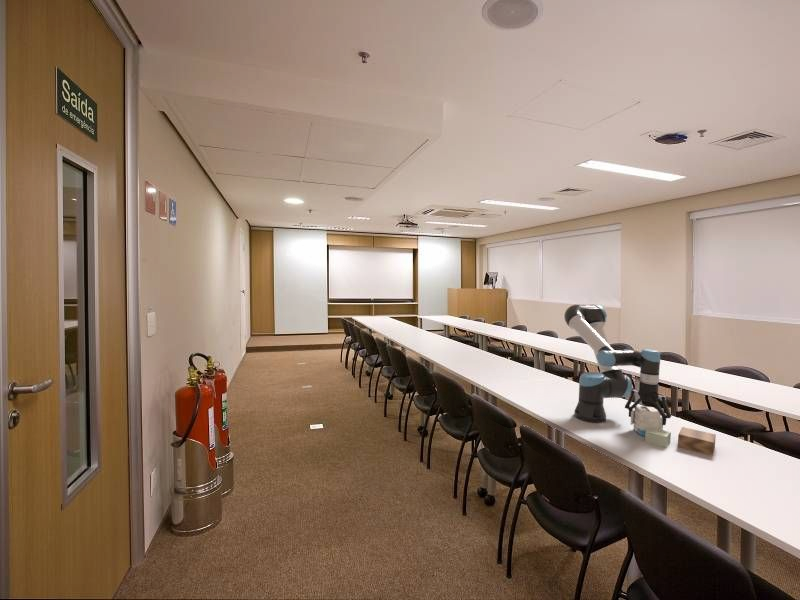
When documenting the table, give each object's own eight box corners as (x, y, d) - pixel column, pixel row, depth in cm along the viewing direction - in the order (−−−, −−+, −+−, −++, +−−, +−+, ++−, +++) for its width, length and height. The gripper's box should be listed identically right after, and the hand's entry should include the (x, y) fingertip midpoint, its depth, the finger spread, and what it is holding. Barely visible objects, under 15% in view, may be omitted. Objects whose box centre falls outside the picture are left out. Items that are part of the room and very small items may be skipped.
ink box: (660, 437, 178) (661, 409, 177) (640, 435, 179) (641, 407, 179) (651, 430, 186) (653, 403, 185) (632, 428, 188) (634, 401, 187)
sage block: (644, 442, 173) (645, 431, 172) (649, 437, 178) (650, 426, 178) (666, 447, 167) (666, 436, 167) (670, 442, 173) (670, 431, 172)
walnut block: (677, 447, 168) (678, 434, 168) (681, 439, 177) (682, 426, 176) (712, 456, 160) (713, 442, 159) (714, 447, 169) (715, 434, 168)
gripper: (618, 378, 187) (616, 422, 189) (677, 389, 170) (674, 437, 171) (623, 376, 192) (621, 418, 194) (681, 386, 175) (678, 433, 177)
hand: (646, 427), depth 183 cm, fingers closed on ink box, 11 cm apart
